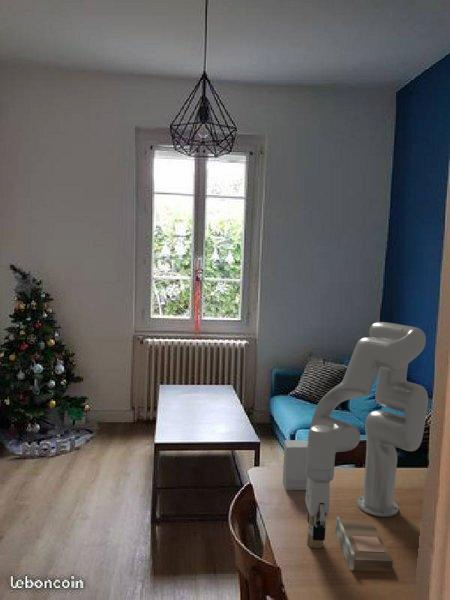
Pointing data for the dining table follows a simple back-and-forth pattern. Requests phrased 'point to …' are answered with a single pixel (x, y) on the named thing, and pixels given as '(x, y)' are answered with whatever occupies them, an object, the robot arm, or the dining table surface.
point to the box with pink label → (363, 546)
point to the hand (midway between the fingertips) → (315, 530)
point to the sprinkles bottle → (310, 533)
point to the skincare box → (295, 464)
